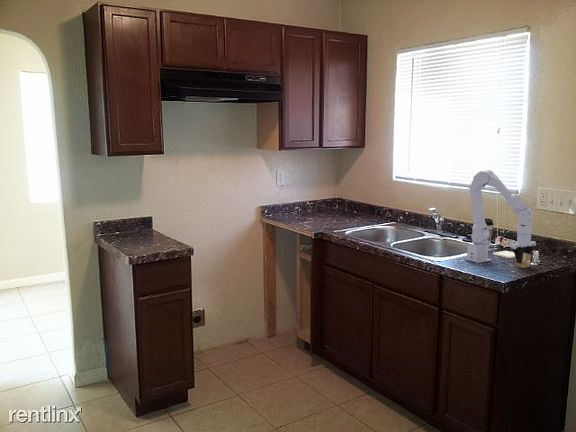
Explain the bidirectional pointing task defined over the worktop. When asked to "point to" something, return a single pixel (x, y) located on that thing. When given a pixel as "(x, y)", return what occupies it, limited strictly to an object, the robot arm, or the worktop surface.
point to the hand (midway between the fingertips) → (522, 262)
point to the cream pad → (505, 254)
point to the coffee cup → (489, 226)
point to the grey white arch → (535, 258)
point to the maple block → (524, 261)
